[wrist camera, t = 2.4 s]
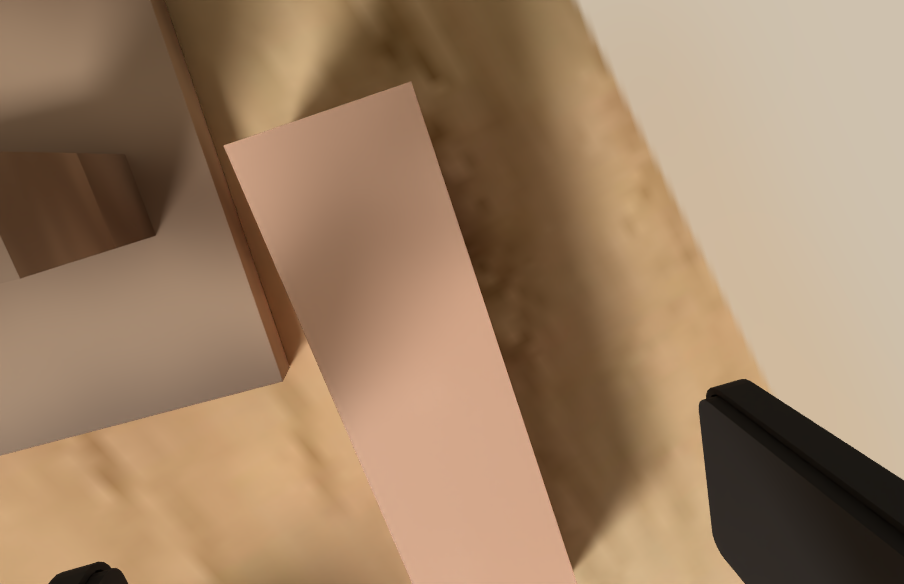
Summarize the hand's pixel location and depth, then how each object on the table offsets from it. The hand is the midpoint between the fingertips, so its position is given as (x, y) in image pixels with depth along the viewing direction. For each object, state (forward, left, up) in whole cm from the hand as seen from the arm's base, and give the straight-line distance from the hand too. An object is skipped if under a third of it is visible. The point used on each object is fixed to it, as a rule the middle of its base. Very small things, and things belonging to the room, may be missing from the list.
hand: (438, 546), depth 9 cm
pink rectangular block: (-1, 0, -8) cm, 8 cm away
